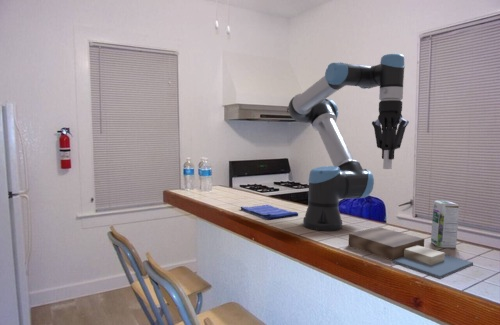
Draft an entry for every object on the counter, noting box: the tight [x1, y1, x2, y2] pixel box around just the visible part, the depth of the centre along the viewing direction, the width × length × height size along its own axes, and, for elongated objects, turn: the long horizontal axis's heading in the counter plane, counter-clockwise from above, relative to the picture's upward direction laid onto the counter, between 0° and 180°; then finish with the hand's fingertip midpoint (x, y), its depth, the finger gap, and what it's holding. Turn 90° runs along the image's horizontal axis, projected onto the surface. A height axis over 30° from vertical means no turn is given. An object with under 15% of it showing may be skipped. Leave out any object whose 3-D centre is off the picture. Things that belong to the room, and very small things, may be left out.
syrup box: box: [430, 200, 460, 249], centre depth 112 cm, size 6×6×14 cm
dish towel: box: [240, 204, 299, 220], centre depth 157 cm, size 17×24×3 cm
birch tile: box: [404, 245, 446, 265], centre depth 98 cm, size 8×7×2 cm
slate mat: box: [392, 254, 474, 279], centre depth 95 cm, size 13×18×1 cm
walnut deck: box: [348, 226, 425, 262], centre depth 108 cm, size 16×16×4 cm
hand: (387, 168), depth 119 cm, fingers closed
